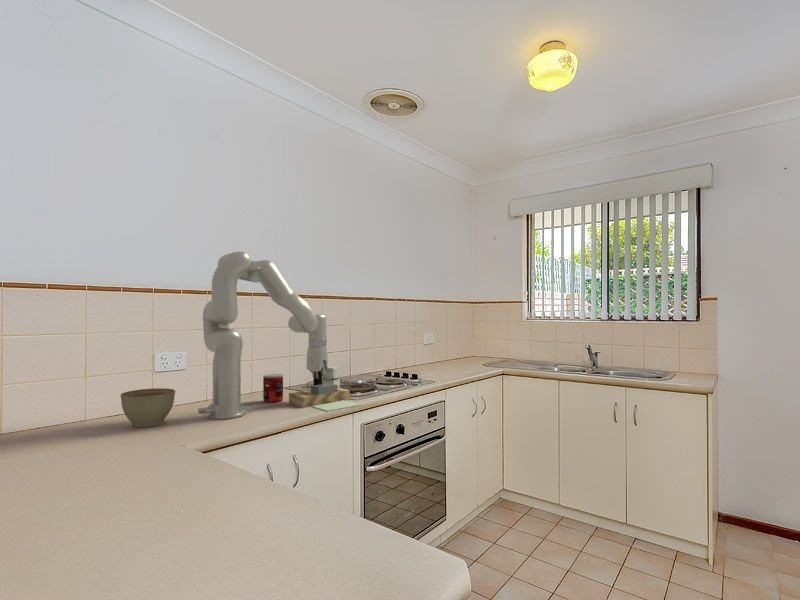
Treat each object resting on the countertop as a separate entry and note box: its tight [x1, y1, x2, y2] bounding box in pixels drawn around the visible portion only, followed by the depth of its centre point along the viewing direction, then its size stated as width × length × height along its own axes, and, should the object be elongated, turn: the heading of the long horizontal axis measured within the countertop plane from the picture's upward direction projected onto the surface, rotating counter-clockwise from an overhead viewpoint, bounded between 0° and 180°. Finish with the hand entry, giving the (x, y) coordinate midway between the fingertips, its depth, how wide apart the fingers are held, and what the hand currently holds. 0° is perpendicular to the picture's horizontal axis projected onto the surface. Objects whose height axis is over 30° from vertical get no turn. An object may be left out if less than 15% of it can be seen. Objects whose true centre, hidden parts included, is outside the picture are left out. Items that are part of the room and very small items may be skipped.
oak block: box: [288, 387, 351, 408], centre depth 186 cm, size 22×12×4 cm, turn 132°
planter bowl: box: [120, 387, 176, 428], centre depth 150 cm, size 16×16×11 cm
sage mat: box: [311, 400, 362, 412], centre depth 176 cm, size 16×11×1 cm
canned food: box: [262, 373, 284, 404], centre depth 187 cm, size 8×8×11 cm
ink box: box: [322, 366, 341, 388], centre depth 205 cm, size 9×5×12 cm, turn 58°
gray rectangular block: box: [310, 383, 338, 395], centre depth 184 cm, size 9×6×3 cm, turn 132°
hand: (317, 387), depth 187 cm, fingers closed
